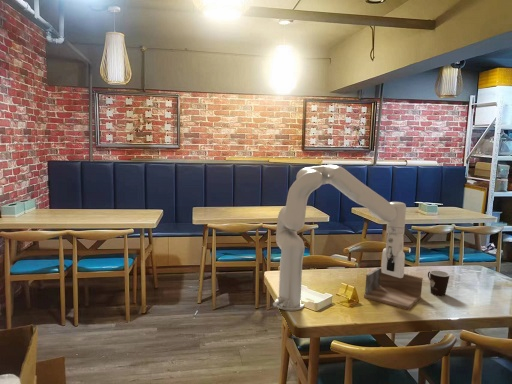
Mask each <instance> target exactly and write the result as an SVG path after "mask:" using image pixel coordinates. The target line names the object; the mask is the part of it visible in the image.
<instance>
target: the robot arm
mask: <svg viewBox="0 0 512 384" xmlns="http://www.w3.org/2000/svg"><path fill="white" fill-rule="evenodd" d="M295 177H296V180H295V181H293V183H292V185H291V186H290V187H289V189H288V192H287V196H286V198H287V199H286V203H285V206H283V207H282V208H281V209H280V210H279V212H278V215H277V221H276V230H275V231H276V234H275V242H276V245H277V247H278V248H279V249H280V252H281V254H280V258H279V260H280V261H279V281H278V296H277V298H276V299H275V301H274V302H273V303H272V306H273V307H274V308H275V307H276V308H277V309H280V310H283V311H291V312H295V311H299V310H302V309H304V306H305V303H304V304H301V300H302V298H301V297H302V279H303V278H302V276H303V259H304V254H305V243H304V240H303V238H302V237H301V236H300V235H298V234H297V233H298V231H301V230H302V229H303V228H304V225H305V223H306V216H307V215H306V214H307V213H306V212H307V203H308V200H309V198H310V195H311V193H313V192H314V191H315V190H317V189H319V188H320V187H321V186H322V185H326V184H327V185H328V184H329V185H331V186H333V187H334V188H335V189H337V190H338V191H339V192H341V193H342V194H343V195H344V196H346V197H347V198H348V199H349V200H350V201H353V202H355V203H356V204H357V205H360V206H362V207H364V208H366V209H368V212H369V214H370V216H372V217H373V218H376V219H378V220H380V221H383V222H385V223H386V233H387V235H386V242H385V248H386V255H387V256H386V257H387V270H388V271H394V265H395V263H394V258H395V257H397V256H398V253H399V251H400V250H401V251H402V252H404V235H405V226H406V216H407V215H406V214H407V213H406V212H407V206H406V205H407V204H406V203H404V202H401V201H388V200H387V199H386V198H384V197H383V196H382V195H380V194H378V193H377V192H376V191H374V190H373V189H372V188H370V187H369V186H367V184H365V183H364V182H361V180H359V179H358V178H356V176H354V175H353V174H352V173H350V172H349V171H348V170H347V169H345V168H344V167H342V166H340V165H336V164H327V165H326V164H324V165H317V166H307V167H304V168H301V169H299V171H297V174H296V176H295ZM391 254H393V256H392V255H391ZM391 257H393V258H391Z"/></svg>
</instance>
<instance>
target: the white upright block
mask: <svg viewBox="0 0 512 384" xmlns="http://www.w3.org/2000/svg"><path fill="white" fill-rule="evenodd" d="M391 255H392V256H393V254H391ZM386 256H387V255H386V247H385V248H383V250H382V253H381V272H382V273H384V274H387V275H391V276H394V277H398V278H403V276H404V274H405V261H406V255H405V252H404V251H403V252H402V251H401V250H400V251H399V253H398V256H397V257H395V258H394V263H395V265H394V271H388V270H387V257H386ZM391 258H393V257H391Z"/></svg>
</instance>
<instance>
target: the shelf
mask: <svg viewBox="0 0 512 384" xmlns="http://www.w3.org/2000/svg"><path fill="white" fill-rule="evenodd" d="M365 276H366V277H365V288H364V289H365V291H364V294H363V298H364V299H367V300H370V301H375V302H378V303H383V304H386V305H389V306H393V307H396V308H399V309H403V310H408V311H409V310H410V309H411V308H412V307H413V306H414V305H415V304H416V303H417V302H418V301H419V300H420V299H421V298H422V290H423V277H420V276H417V275H412V274H407V273H404V276H403V278H398V277H394V276H391V275H387V274H384V273H382V272H381V268H380V267H376V268H375V269H374V270H372V271H370V272H369V273H367V274H365Z"/></svg>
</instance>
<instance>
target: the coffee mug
mask: <svg viewBox="0 0 512 384" xmlns="http://www.w3.org/2000/svg"><path fill="white" fill-rule="evenodd" d="M450 276H451V274H450V273H448V272H446V271H443V270H438V269H437V270H430V271H428V272H427V278H428V280H429V282H430V283H429V288H430V294H431V295H433V296H436V297H445V296H446V292H447V289H448V284H449V281H450Z"/></svg>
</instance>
